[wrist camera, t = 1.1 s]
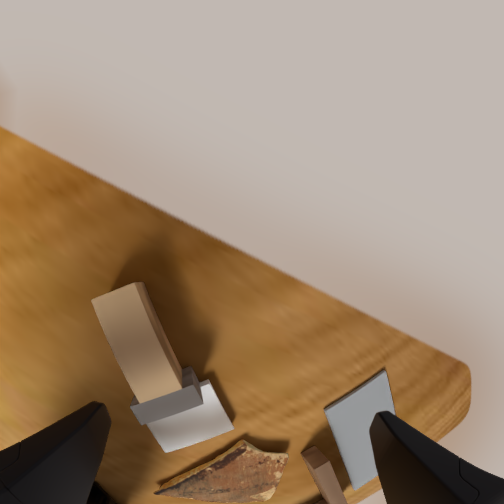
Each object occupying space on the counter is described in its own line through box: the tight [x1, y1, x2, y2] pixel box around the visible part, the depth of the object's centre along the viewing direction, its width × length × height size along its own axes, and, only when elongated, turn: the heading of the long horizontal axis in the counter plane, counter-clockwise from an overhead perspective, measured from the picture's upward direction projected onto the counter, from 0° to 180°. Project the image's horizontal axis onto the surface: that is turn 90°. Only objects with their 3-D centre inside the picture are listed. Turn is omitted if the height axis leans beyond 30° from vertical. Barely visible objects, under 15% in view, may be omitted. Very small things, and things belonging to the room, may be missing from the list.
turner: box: [91, 282, 234, 453], centre depth 17 cm, size 13×6×4 cm, turn 23°
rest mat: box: [324, 370, 395, 490], centre depth 22 cm, size 7×14×1 cm, turn 22°
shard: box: [154, 439, 289, 503], centre depth 18 cm, size 11×8×2 cm
